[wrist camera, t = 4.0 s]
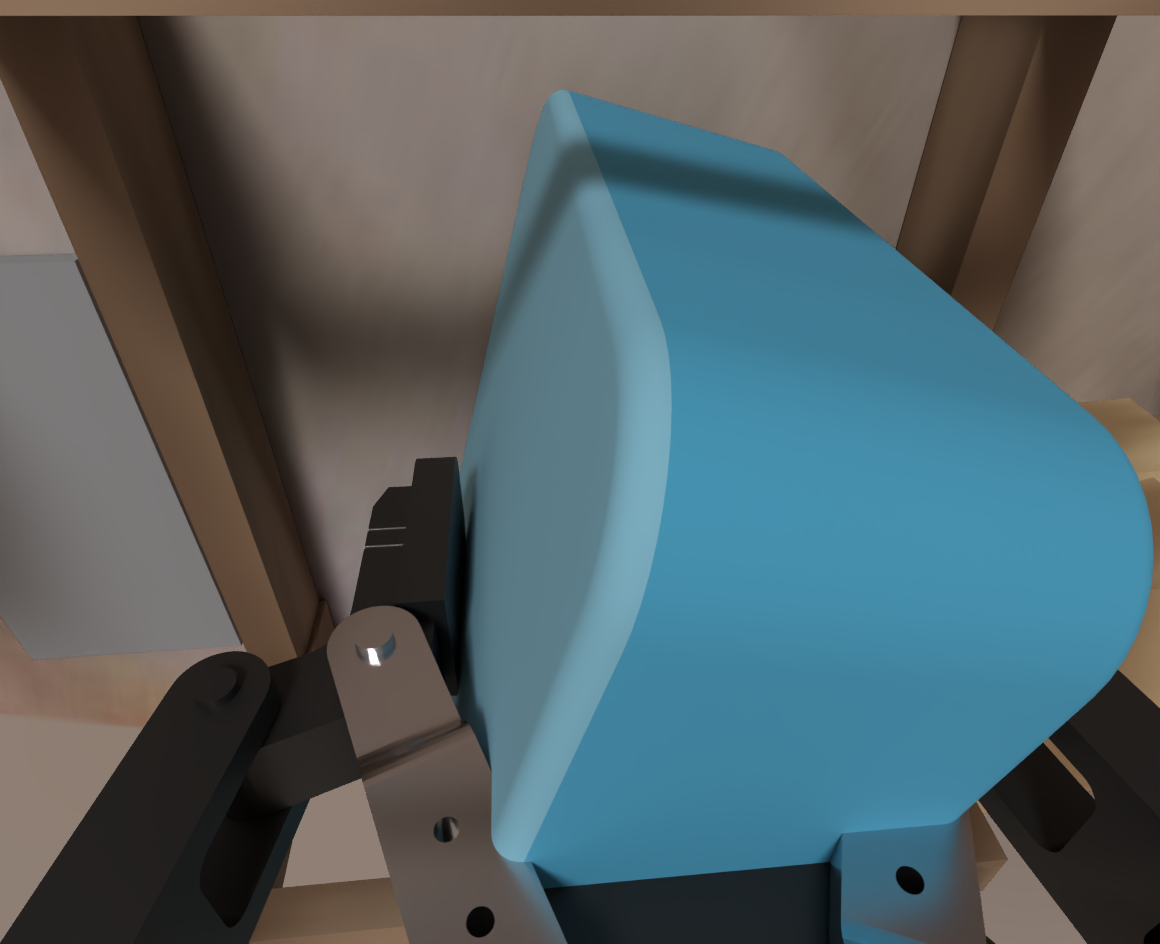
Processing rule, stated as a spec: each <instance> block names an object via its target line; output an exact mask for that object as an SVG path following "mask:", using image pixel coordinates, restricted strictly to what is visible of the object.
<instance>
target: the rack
mask: <svg viewBox="0 0 1160 944" xmlns="http://www.w3.org/2000/svg"><path fill="white" fill-rule="evenodd" d="M760 15H761V16H763V15H764V16H765V15H962V19H961V22H960V26H959V29H958V33H957V36H956V40H955V43H954V47H953V51H952V54H951V58H950V61H949V65H948V68H947V72H946V75H945V79H944V82H943V86H942V89H941V93H940V96H939V100H938V104H937V107H936V111H935V114H934V118H933V121H932V125H931V128H930V132H929V135H928V139H927V142H926V146H925V149H924V153H923V156H922V160H921V164H920V167H919V171H918V174H917V178H916V181H915V185H914V188H913V192H912V195H911V199H910V202H909V206H908V209H907V213H906V216H905V220H904V224H903V227H902V231H901V234H900V238H899V241H898V245H897V248H896V251H898V252H899V253H900V254H901V255H902V256H904V257H905V258H906V259H907V260H908V261H909V262H911V263H912V264H913V265H914V266H915V267H917V268H918V269H919V270H920V271H921V272H923V273H924V274H925V275H926V276H927V277H928V278H930V279H931V280H932V281H933V282H934V283H936V284H937V285H938V286H939V287H940V288H942V289H943V290H944V291H945V292H946V293H947V294H949V295H950V296H951V297H952V298H953V299H955V300H956V301H957V302H958V303H959V304H961V305H962V306H963V307H964V308H965V309H966V310H968V311H969V312H970V313H971V314H972V315H974V316H975V317H976V318H977V319H978V320H980V321H981V322H982V323H983V324H984V325H985V326H987V327H988V328H989V329H990V330H991V331H993V329H994V326H995V324H996V321H997V319H998V316H999V314H1000V311H1001V309H1002V306H1003V304H1004V301H1005V298H1006V296H1007V293H1008V291H1009V288H1010V286H1011V283H1012V281H1013V278H1014V276H1015V273H1016V271H1017V268H1018V266H1019V263H1020V260H1021V258H1022V255H1023V253H1024V250H1025V248H1026V245H1027V243H1028V240H1029V238H1030V235H1031V233H1032V230H1033V228H1034V225H1035V223H1036V220H1037V217H1038V215H1039V212H1040V210H1041V207H1042V205H1043V202H1044V200H1045V197H1046V195H1047V192H1048V190H1049V187H1050V185H1051V182H1052V179H1053V177H1054V174H1055V172H1056V169H1057V167H1058V164H1059V162H1060V159H1061V157H1062V154H1063V152H1064V149H1065V147H1066V144H1067V141H1068V139H1069V136H1070V134H1071V131H1072V129H1073V126H1074V124H1075V121H1076V119H1077V116H1078V114H1079V111H1080V109H1081V106H1082V103H1083V101H1084V98H1085V96H1086V93H1087V91H1088V88H1089V86H1090V83H1091V81H1092V78H1093V76H1094V73H1095V71H1096V68H1097V66H1098V63H1099V60H1100V58H1101V55H1102V53H1103V50H1104V48H1105V45H1106V43H1107V40H1108V38H1109V35H1110V33H1111V30H1112V28H1113V25H1114V22H1115V20H1116V17H1117V15H1160V0H0V78H1V81H2V83H3V85H4V88H5V90H6V92H7V95H8V97H9V99H10V102H11V104H12V106H13V109H14V111H15V113H16V116H17V118H18V120H19V122H20V125H21V127H22V129H23V132H24V134H25V136H26V139H27V141H28V143H29V146H30V148H31V150H32V153H33V155H34V157H35V160H36V162H37V164H38V167H39V169H40V171H41V174H42V176H43V178H44V181H45V183H46V185H47V188H48V190H49V192H50V195H51V197H52V199H53V202H54V204H55V206H56V209H57V211H58V213H59V216H60V218H61V220H62V222H63V225H64V227H65V229H66V232H67V234H68V236H69V239H70V241H71V243H72V246H73V248H74V250H75V253H76V255H77V257H78V260H79V262H80V264H81V267H82V269H83V271H84V274H85V276H86V278H87V281H88V283H89V285H90V288H91V290H92V292H93V295H94V297H95V299H96V302H97V304H98V306H99V309H100V311H101V313H102V316H103V318H104V320H105V323H106V325H107V327H108V329H109V332H110V334H111V336H112V339H113V341H114V343H115V346H116V348H117V350H118V353H119V355H120V357H121V360H122V362H123V364H124V367H125V369H126V371H127V374H128V376H129V378H130V381H131V383H132V385H133V388H134V390H135V392H136V395H137V397H138V399H139V402H140V404H141V406H142V409H143V411H144V413H145V416H146V418H147V420H148V423H149V425H150V427H151V430H152V432H153V434H154V436H155V439H156V441H157V443H158V446H159V448H160V450H161V453H162V455H163V457H164V460H165V462H166V464H167V467H168V469H169V471H170V474H171V476H172V478H173V481H174V483H175V485H176V488H177V490H178V492H179V495H180V497H181V499H182V502H183V504H184V506H185V509H186V511H187V513H188V516H189V518H190V520H191V523H192V525H193V527H194V530H195V532H196V534H197V536H198V539H199V541H200V543H201V546H202V548H203V550H204V553H205V555H206V557H207V560H208V562H209V564H210V567H211V569H212V571H213V574H214V576H215V578H216V581H217V583H218V585H219V588H220V590H221V592H222V595H223V597H224V599H225V602H226V604H227V606H228V609H229V611H230V613H231V616H232V618H233V620H234V623H235V625H236V627H237V630H238V632H239V634H240V637H241V639H242V641H243V643H244V646H245V648H246V650H247V653H251V654H254V655H256V656H258V657H259V658H261V659H262V660H263V661H264V662H265V663H266V664H267V666H268V667H270V666H273V665H276V664H279V663H282V662H285V661H288V660H291V659H294V658H297V657H300V656H303V655H305V654H308V653H311V652H313V651H315V650H317V649H319V648H321V647H322V646H324V645H325V644H327V643H328V641H329V638H330V636H331V634H332V632H333V631H334V630H335V628H334V625H333V622H332V618H331V615H330V612H329V608H328V605H327V602H326V600H325V601H319V599H318V595H317V592H316V589H315V586H314V583H313V579H312V576H311V573H310V570H309V567H308V563H307V560H306V557H305V554H304V551H303V547H302V544H301V541H300V538H299V535H298V531H297V528H296V525H295V522H294V519H293V515H292V512H291V509H290V506H289V503H288V499H287V496H286V493H285V490H284V487H283V483H282V480H281V477H280V474H279V471H278V467H277V464H276V461H275V458H274V455H273V451H272V448H271V445H270V442H269V439H268V435H267V432H266V429H265V426H264V423H263V419H262V416H261V413H260V410H259V407H258V403H257V400H256V397H255V394H254V391H253V387H252V384H251V381H250V378H249V375H248V371H247V368H246V365H245V362H244V359H243V355H242V352H241V349H240V346H239V343H238V339H237V336H236V333H235V330H234V327H233V323H232V320H231V317H230V314H229V311H228V307H227V304H226V301H225V298H224V295H223V291H222V288H221V285H220V282H219V279H218V275H217V272H216V269H215V266H214V263H213V259H212V256H211V253H210V250H209V247H208V243H207V240H206V237H205V234H204V231H203V227H202V224H201V221H200V218H199V215H198V211H197V208H196V205H195V202H194V199H193V195H192V192H191V189H190V186H189V183H188V179H187V176H186V173H185V170H184V167H183V163H182V160H181V157H180V154H179V151H178V147H177V144H176V141H175V138H174V135H173V131H172V128H171V125H170V122H169V119H168V115H167V112H166V109H165V106H164V103H163V100H162V96H161V93H160V90H159V87H158V84H157V80H156V77H155V74H154V71H153V68H152V64H151V61H150V58H149V55H148V52H147V48H146V45H145V42H144V39H143V36H142V32H141V29H140V26H139V23H138V20H137V16H760ZM969 811H970V819H971V826H972V834H973V842H974V850H975V857H976V865H977V873H978V881H979V888H980V891H983V889H984V888H985V887H986V886H987V884H988V883H989V882H990V881H991V880H992V878H993V877H994V876H995V875H996V874H997V872H998V871H999V870H1000V868H1001V867H1002V866H1003V865H1004V864H1005V862H1006V861H1007V860H1008V858H1007V857H1006V855H1005V853H1004V851H1003V849H1002V848H1001V846H1000V844H999V842H998V840H997V838H996V836H995V835H994V833H993V831H992V829H991V827H990V825H989V824H988V822H987V820H986V818H985V816H984V814H983V813H982V811H981V809H980V807H979V805H978V803H977V802H975V803H974V804H973V805H972V806H971V807H970V808H969ZM291 845H292V842H291ZM291 845H290V847H289V849H288V852H287V854H286V857H285V859H284V861H283V864H282V866H281V868H280V871H279V873H278V875H277V878H276V880H275V882H274V885H273V887H272V890H271V892H270V894H269V897H268V899H267V901H266V904H265V906H264V908H263V911H262V913H261V915H260V918H259V920H258V923H257V925H256V927H255V930H254V932H253V934H252V937H251V939H250V941H249V944H409V941H408V937H407V934H406V930H405V927H404V923H403V920H402V916H401V913H400V909H399V906H398V903H397V899H396V896H395V892H394V889H393V885H392V882H391V878H380V879H369V880H358V881H348V882H337V883H327V884H317V885H307V886H296V887H285V888H282V887H283V882H284V877H285V873H286V867H287V863H288V859H289V854H290V849H291Z"/></svg>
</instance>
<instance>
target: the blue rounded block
mask: <svg viewBox="0 0 1160 944" xmlns="http://www.w3.org/2000/svg"><path fill="white" fill-rule="evenodd" d="M459 476H460V484H461V493H462V501H463V509H464V518H465V529H466V548H465V569H464V589H463V609H462V629H461V649H460V669H459V689H458V694H457V696H451V698H452V700H453V702H454V705H455V707H456V709H457V712H458V714H459V716H460V718H461V720H462V721H467V722H468V723H469V725H470V726H471V728H472V730H473V732H474V734H475V736H476V738H477V740H478V743H479V745H480V747H481V750H482V752H483V754H484V756H485V759H486V761H487V763H488V765H489V768H490V770H491V772H492V813H491V836H492V842H493V844H494V846H495V848H496V850H497V851H498V852H499V853H500V854H501V855H502V856H503V857H505V858H506V859H508V860H511V861H515V862H530V861H531V863H532V865H533V867H534V869H535V872H536V874H537V876H538V878H539V881H540V883H541V885H542V887H543V889H545V888H555V887H566V886H577V885H588V884H598V883H609V882H620V881H631V880H641V879H652V878H663V877H674V876H684V875H695V874H706V873H717V872H727V871H738V870H749V869H759V868H770V867H781V866H792V865H802V864H813V863H824V862H831V856H832V854H833V852H834V850H835V847H836V845H837V843H838V841H839V839H840V837H841V835H842V833H852V832H863V831H874V830H885V829H896V828H907V827H918V826H929V825H940V824H948V823H951V822H953V821H955V820H956V819H957V818H958V817H960V816H961V815H962V814H963V813H964V812H965V811H966V810H967V809H969V808H970V807H971V806H972V805H973V804H974V803H975V802H976V801H978V800H979V799H980V798H981V797H982V796H983V795H984V794H985V793H987V792H988V791H989V790H990V789H991V788H992V787H993V786H994V785H996V784H997V783H998V782H999V781H1000V780H1001V779H1002V778H1003V777H1005V776H1006V775H1007V774H1008V773H1009V772H1010V771H1011V770H1012V769H1014V768H1015V767H1016V766H1017V765H1018V764H1019V763H1020V762H1021V761H1023V760H1024V759H1025V758H1026V757H1027V756H1028V755H1029V754H1030V753H1032V752H1033V751H1034V750H1035V749H1036V748H1037V747H1038V746H1039V745H1041V744H1042V743H1043V742H1044V741H1045V740H1046V739H1047V738H1048V737H1050V736H1051V735H1052V734H1053V733H1054V732H1055V731H1056V730H1057V729H1059V728H1060V727H1061V726H1062V725H1063V724H1064V723H1065V722H1066V721H1068V720H1069V719H1070V718H1071V717H1072V716H1073V715H1074V714H1075V713H1077V712H1078V711H1079V710H1080V709H1081V708H1082V707H1083V706H1084V705H1086V704H1087V703H1088V702H1089V701H1090V700H1091V699H1092V698H1093V697H1094V696H1095V695H1096V694H1097V693H1098V692H1099V691H1100V690H1101V689H1102V688H1103V687H1104V686H1105V685H1106V684H1107V683H1108V682H1109V681H1110V679H1111V678H1112V677H1113V675H1114V674H1115V672H1116V671H1117V670H1118V668H1119V667H1120V665H1121V664H1122V663H1123V661H1124V660H1125V658H1126V656H1127V654H1128V652H1129V651H1130V649H1131V647H1132V645H1133V643H1134V641H1135V639H1136V637H1137V635H1138V632H1139V629H1140V626H1141V624H1142V621H1143V618H1144V615H1145V612H1146V609H1147V604H1148V599H1149V595H1150V590H1151V585H1152V575H1153V560H1154V549H1153V534H1152V525H1151V520H1150V515H1149V510H1148V505H1147V501H1146V498H1145V495H1144V493H1143V490H1142V487H1141V484H1140V481H1139V478H1138V476H1137V474H1136V472H1135V470H1134V468H1133V466H1132V464H1131V462H1130V460H1129V459H1128V457H1127V455H1126V453H1125V452H1124V451H1123V449H1122V448H1121V446H1120V445H1119V444H1118V442H1117V441H1116V440H1115V438H1114V437H1113V436H1112V434H1111V433H1110V432H1109V431H1108V430H1107V429H1106V428H1105V427H1104V426H1103V425H1102V424H1101V423H1100V422H1099V421H1098V420H1097V419H1096V418H1095V417H1094V416H1092V415H1091V414H1090V413H1089V412H1088V411H1086V410H1085V409H1084V408H1083V407H1082V406H1080V405H1079V404H1078V403H1077V402H1076V401H1075V400H1073V399H1072V398H1071V397H1070V396H1069V395H1067V394H1066V393H1065V392H1064V391H1063V390H1061V389H1060V388H1059V387H1058V386H1057V385H1056V384H1054V383H1053V382H1052V381H1051V380H1050V379H1048V378H1047V377H1046V376H1045V375H1044V374H1042V373H1041V372H1040V371H1039V370H1038V369H1037V368H1035V367H1034V366H1033V365H1032V364H1031V363H1029V362H1028V361H1027V360H1026V359H1025V358H1023V357H1022V356H1021V355H1020V354H1019V353H1018V352H1016V351H1015V350H1014V349H1013V348H1012V347H1010V346H1009V345H1008V344H1007V343H1006V342H1004V341H1003V340H1002V339H1001V338H1000V337H999V336H997V335H996V334H995V333H994V332H993V331H991V330H990V329H989V328H988V327H987V326H985V325H984V324H983V323H982V322H981V321H980V320H978V319H977V318H976V317H975V316H974V315H972V314H971V313H970V312H969V311H968V310H966V309H965V308H964V307H963V306H962V305H961V304H959V303H958V302H957V301H956V300H955V299H953V298H952V297H951V296H950V295H949V294H947V293H946V292H945V291H944V290H943V289H942V288H940V287H939V286H938V285H937V284H936V283H934V282H933V281H932V280H931V279H930V278H928V277H927V276H926V275H925V274H924V273H923V272H921V271H920V270H919V269H918V268H917V267H915V266H914V265H913V264H912V263H911V262H909V261H908V260H907V259H906V258H905V257H904V256H902V255H901V254H900V253H899V252H898V251H896V250H895V249H894V248H893V247H892V246H891V245H889V244H888V243H887V242H886V241H885V240H883V239H882V238H881V237H880V236H879V235H877V234H876V233H875V232H874V231H873V230H872V229H870V228H869V227H868V226H867V225H866V224H864V223H863V222H862V221H861V220H860V219H858V218H857V217H856V216H855V215H854V214H853V213H851V212H850V211H849V210H848V209H847V208H845V207H844V206H843V205H842V204H841V203H839V202H838V201H837V200H836V199H835V198H834V197H832V196H831V195H830V194H829V193H828V192H826V191H825V190H824V189H823V188H822V187H820V186H819V185H818V184H817V183H816V182H815V181H813V180H812V179H811V178H810V177H809V176H807V175H806V174H805V173H804V172H803V171H801V170H800V169H799V168H798V167H797V166H796V165H794V164H793V163H792V162H791V161H790V160H788V159H787V158H786V157H785V156H784V155H782V154H781V153H779V152H777V151H774V150H771V149H767V148H764V147H760V146H757V145H754V144H750V143H747V142H743V141H740V140H736V139H733V138H729V137H726V136H723V135H719V134H716V133H712V132H709V131H705V130H702V129H698V128H695V127H692V126H688V125H685V124H681V123H678V122H674V121H671V120H667V119H664V118H661V117H657V116H654V115H650V114H647V113H643V112H640V111H636V110H633V109H630V108H626V107H623V106H619V105H616V104H612V103H609V102H605V101H602V100H599V99H595V98H592V97H588V96H585V95H581V94H578V93H574V92H571V91H568V90H559V91H556V92H554V93H553V94H552V95H551V96H550V97H549V98H548V99H547V101H546V103H545V105H544V107H543V110H542V112H541V115H540V118H539V121H538V125H537V128H536V132H535V135H534V139H533V143H532V147H531V151H530V155H529V160H528V164H527V169H526V173H525V178H524V182H523V187H522V191H521V196H520V201H519V205H518V210H517V214H516V219H515V223H514V228H513V233H512V237H511V242H510V246H509V251H508V255H507V260H506V265H505V269H504V274H503V278H502V283H501V287H500V292H499V297H498V301H497V306H496V310H495V315H494V319H493V324H492V329H491V333H490V338H489V342H488V347H487V351H486V356H485V361H484V365H483V370H482V374H481V379H480V383H479V388H478V393H477V397H476V402H475V406H474V411H473V415H472V420H471V425H470V429H469V434H468V438H467V443H466V447H465V452H464V457H463V461H462V466H461V470H460V475H459Z"/></svg>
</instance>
